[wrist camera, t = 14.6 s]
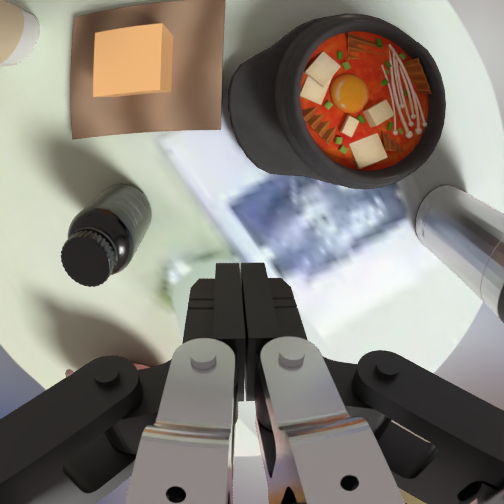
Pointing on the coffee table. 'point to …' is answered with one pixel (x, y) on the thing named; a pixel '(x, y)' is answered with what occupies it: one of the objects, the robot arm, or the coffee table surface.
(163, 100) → the post stand
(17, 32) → the coffee cup
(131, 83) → the peach cube
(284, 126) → the casserole
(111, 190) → the supplement bottle
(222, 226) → the coffee table surface
